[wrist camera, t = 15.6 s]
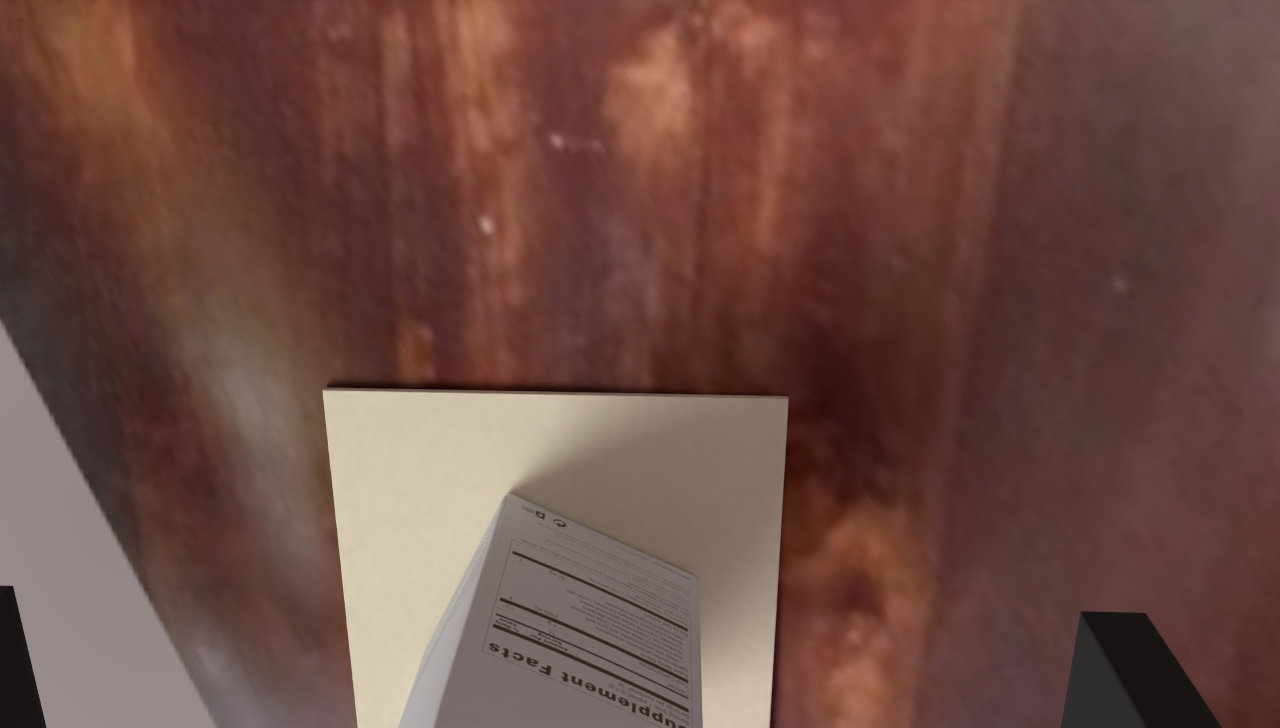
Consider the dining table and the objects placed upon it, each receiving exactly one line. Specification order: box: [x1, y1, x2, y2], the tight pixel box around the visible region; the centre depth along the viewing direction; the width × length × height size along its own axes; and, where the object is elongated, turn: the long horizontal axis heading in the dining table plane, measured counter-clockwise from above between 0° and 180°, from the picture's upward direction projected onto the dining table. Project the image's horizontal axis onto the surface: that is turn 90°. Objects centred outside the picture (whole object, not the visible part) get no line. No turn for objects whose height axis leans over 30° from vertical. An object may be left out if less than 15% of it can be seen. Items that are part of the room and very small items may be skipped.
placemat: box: [323, 388, 789, 728], centre depth 47 cm, size 18×20×1 cm
